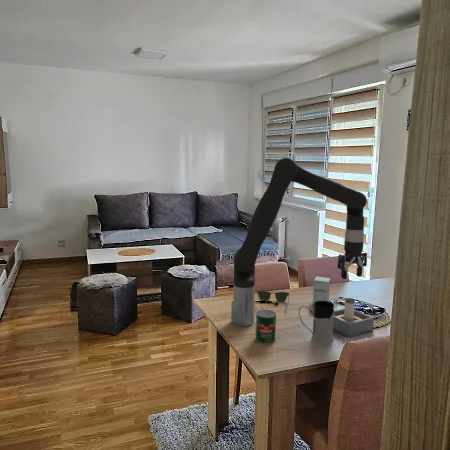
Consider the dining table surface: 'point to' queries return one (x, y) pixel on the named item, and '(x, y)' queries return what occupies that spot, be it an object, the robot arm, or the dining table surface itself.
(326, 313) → the mug
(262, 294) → the sunglasses
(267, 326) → the canned tomato
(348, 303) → the peg
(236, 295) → the robot arm
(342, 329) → the walled box
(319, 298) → the supplement box
